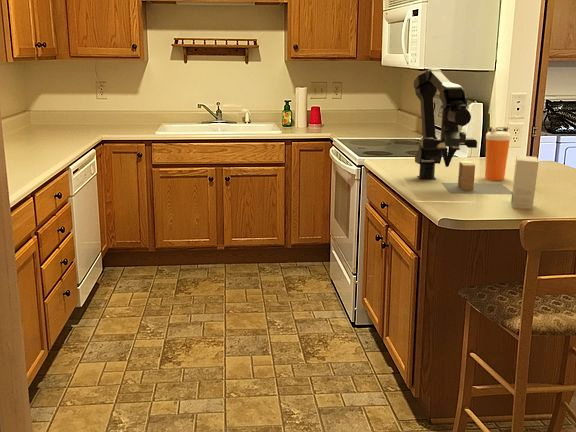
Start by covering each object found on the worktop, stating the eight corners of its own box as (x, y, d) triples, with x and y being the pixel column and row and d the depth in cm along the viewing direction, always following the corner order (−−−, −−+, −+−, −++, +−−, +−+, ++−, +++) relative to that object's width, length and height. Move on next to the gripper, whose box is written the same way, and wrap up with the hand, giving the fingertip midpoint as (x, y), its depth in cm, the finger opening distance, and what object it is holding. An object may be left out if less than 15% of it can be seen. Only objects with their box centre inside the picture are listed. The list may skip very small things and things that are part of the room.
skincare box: (510, 202, 211) (515, 155, 207) (532, 204, 209) (537, 156, 205) (511, 208, 203) (516, 159, 199) (534, 210, 201) (539, 160, 197)
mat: (441, 183, 239) (441, 182, 239) (501, 184, 238) (501, 183, 238) (450, 194, 222) (450, 193, 222) (515, 195, 221) (515, 194, 220)
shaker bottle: (510, 181, 244) (515, 128, 239) (488, 182, 243) (493, 129, 238) (499, 177, 253) (504, 125, 248) (478, 177, 251) (482, 126, 246)
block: (457, 185, 233) (459, 161, 231) (468, 186, 233) (470, 161, 231) (461, 190, 227) (463, 164, 224) (473, 190, 226) (475, 165, 224)
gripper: (426, 125, 217) (423, 170, 221) (482, 125, 216) (478, 171, 220) (421, 121, 228) (419, 164, 232) (475, 121, 227) (471, 165, 231)
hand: (446, 166), depth 228 cm, fingers closed
